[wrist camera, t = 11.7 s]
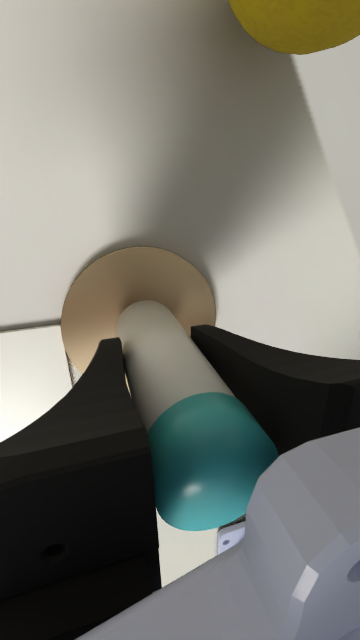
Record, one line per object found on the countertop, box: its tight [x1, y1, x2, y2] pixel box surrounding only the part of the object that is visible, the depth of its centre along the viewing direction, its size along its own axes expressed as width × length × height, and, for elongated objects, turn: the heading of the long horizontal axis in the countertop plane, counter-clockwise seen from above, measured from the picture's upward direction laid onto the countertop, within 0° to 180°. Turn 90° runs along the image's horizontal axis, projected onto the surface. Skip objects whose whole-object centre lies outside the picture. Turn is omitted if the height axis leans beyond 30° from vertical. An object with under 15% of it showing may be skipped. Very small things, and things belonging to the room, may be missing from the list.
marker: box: [115, 300, 279, 531], centre depth 10 cm, size 3×3×8 cm
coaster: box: [61, 247, 216, 393], centre depth 14 cm, size 7×7×1 cm
